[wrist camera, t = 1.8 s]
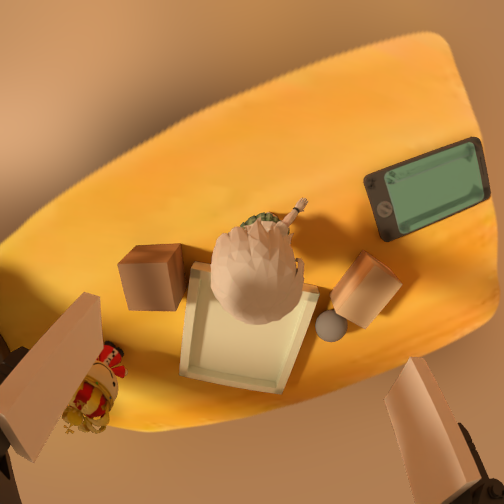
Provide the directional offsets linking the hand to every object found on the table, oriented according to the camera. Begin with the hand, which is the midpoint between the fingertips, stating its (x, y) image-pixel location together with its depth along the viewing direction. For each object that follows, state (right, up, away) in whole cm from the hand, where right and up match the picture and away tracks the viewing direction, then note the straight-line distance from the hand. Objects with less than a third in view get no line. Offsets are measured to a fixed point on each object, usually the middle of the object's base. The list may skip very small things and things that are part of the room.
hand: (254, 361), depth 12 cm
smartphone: (+19, +11, +17) cm, 28 cm away
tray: (-1, -5, +23) cm, 24 cm away
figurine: (+1, +7, +19) cm, 20 cm away
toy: (-18, -9, +26) cm, 33 cm away
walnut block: (-10, +3, +21) cm, 23 cm away
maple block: (+11, +1, +21) cm, 24 cm away
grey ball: (+8, -3, +22) cm, 24 cm away
